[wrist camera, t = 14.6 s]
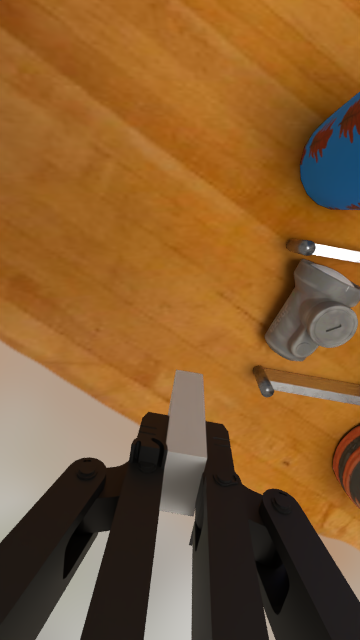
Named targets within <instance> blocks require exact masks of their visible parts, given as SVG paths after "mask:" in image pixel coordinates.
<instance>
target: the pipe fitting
mask: <svg viewBox="0 0 360 640" xmlns="http://www.w3.org/2000/svg"><path fill="white" fill-rule="evenodd" d="M294 279H295V288H294V290H293V291H292V293H291V294H290V296H289V297H288V299H287V301H286V302H285V304H284V305H283V307H282V308H281V310H280V312H279V313H278V315H277V316H276V318H275V319H274V321H273V322H272V324H271V326H270V327H269V329H268V331H267V332H266V334H265V339H266V342H267V344H268V345H269V347H270V348H271V349H272V350H273V351H274V352H276V353H277V354H279V355H280V356H282V357H284V358H286V359H288V360H291V361H303V360H305V358H306V357H307V356H309V355H310V354H312V353H313V352H314V351H315V350H316V349H317V347H318V346H322V347H327V348H332V347H337V346H340V345H342V344H344V343H346V342H347V341H348V340H349V339H351V337H352V336H353V335H354V333H355V332H356V329H357V326H358V320H357V316H356V314H355V313H354V311H353V310H352V309H350V308H351V307H354V306H356V305H357V303H358V302H359V301H360V287H359V286H358V285H356V284H354V283H353V282H351V281H349V280H348V279H347V278H346V277H344V276H343V275H342V274H340V273H339V272H337V271H335V270H333V269H331V268H328V267H326V266H323V265H318V264H315V263H313V262H311V261H309V260H306V259H301V261H300V263H299V264H298V266H297V268H296V269H295V271H294Z"/></svg>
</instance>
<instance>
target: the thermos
mask: <svg viewBox="0 0 360 640" xmlns="http://www.w3.org/2000/svg"><path fill="white" fill-rule="evenodd" d="M300 172H301V181H302V184H303V186H304V188H305V190H306V193H307V194H308V195H309V196H310V197H311V198H312V199H313V200H314V201H315V202H316V203H317V204H318V205H321V206H324V207H326V208H329V209H336V210H360V92H359V93H358V94H356V95H355V96H354V97H353V98H351V99H350V100H349V101H348V102H347V103H345V104H344V105H343V106H342V107H341V108H339V109H338V110H337V111H336V112H335V113H334V114H332V115H331V116H330V117H329V118H328V119H327V120H325V121H324V122H323V123H322V124H321V125H320V126H319V127H318V129H317V130H316V131H315V132H314V133H313V134H312V136H311V138H310V139H309V141H308V142H307V144H306V146H305V147H304V151H303V154H302V158H301V162H300Z"/></svg>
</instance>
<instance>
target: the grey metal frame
mask: <svg viewBox="0 0 360 640" xmlns="http://www.w3.org/2000/svg"><path fill="white" fill-rule="evenodd" d="M286 248H287V249H288V250H289V251H291V252H295V253H299V254H303V255H306V256H309V255H312V254H314V255H319V256H325V257H330V258H336V259H341V260H347V261H352V262H358V263H360V252H358V251H352V250H346V249H341V248H335V247H330V246H324V245H319V244H315V243H314V242H312V241H308V240H300V239H290V240H289V241H288V242H287V244H286ZM253 373H254V376H255V378H256V381H257V383H258V386H259V388H260V391H261V393H262V395H263V396H264V397H270V396H272V395H273V393H274V390H277V391H283V392H288V393H294V394H300V395H305V396H311V397H316V398H322V399H328V400H333V401H339V402H344V403H350V404H356V405H360V385H357V384H351V383H346V382H340V381H335V380H329V379H324V378H318V377H312V376H307V375H301V374H296V373H290V372H284V371H279V370H273V369H268V368H263V367H262V366H256V367H254V369H253Z"/></svg>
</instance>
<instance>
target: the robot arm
mask: <svg viewBox="0 0 360 640" xmlns="http://www.w3.org/2000/svg"><path fill="white" fill-rule="evenodd" d="M159 511H165V512H171V513H177V514H183V515H188V516H193V515H194V511H195V522H194V526H193V531H192V535H191V539H190V543H189V545H191V546H192V544H193V554H192V558H193V559H192V640H269V637H268V631H267V626H266V620H265V614H264V609H265V612H266V615H267V618H268V620H269V623H270V626H271V628H272V631H273V634H274V637H275V639H276V640H360V602H359V600H358V599H357V597H356V595H355V594H354V592H353V591H352V589H351V588H350V586H349V584H348V583H347V581H346V579H345V578H344V576H343V575H342V573H341V571H340V570H339V568H338V567H337V565H336V563H335V562H334V560H333V559H332V557H331V555H330V554H329V552H328V550H327V549H326V547H325V546H324V544H323V542H322V541H321V539H320V537H319V536H318V534H317V533H316V531H315V529H314V528H313V526H312V525H311V523H310V521H309V520H308V518H307V517H306V515H305V513H304V512H303V510H302V508H301V507H300V505H299V504H298V502H297V501H296V500H295V499H294V498H293V497H292V496H291V495H289V494H288V493H286V492H284V491H282V490H279V489H269V490H267V491H265V492H264V493H263V495H261V494H259V493H257V492H254V491H252V490H250V489H248V488H247V487H245V486H244V485H243V484H242V483H241V480H240V478H239V476H238V475H237V474H236V473H235V471H234V465H233V459H232V452H231V448H230V441H229V434H228V431H227V429H226V428H225V427H224V425H223V424H219V423H213V422H207V421H205V406H204V387H203V374H198V373H192V372H187V371H181V370H176V374H175V379H174V385H173V390H172V395H171V401H170V406H169V412H168V415H163V414H157V413H152V412H148V413H147V414H146V415H145V416H144V417H143V418H142V422H141V425H140V429H139V433H138V436H137V438H136V439H134V441H133V443H132V445H131V452H130V458H129V461H128V462H126V463H125V464H123V465H121V466H117V467H110V468H106V466H105V465H104V463H103V462H101V461H100V460H98V459H95V458H82V459H79V460H76V461H75V462H73V463H72V464H71V465H70V466H69V467H68V468H67V469H66V470H65V472H64V473H63V474H62V475H61V476H60V477H59V478H58V479H57V480H56V482H55V483H54V484H53V485H52V486H51V487H50V488H49V489H48V490H47V492H46V493H45V494H44V495H43V496H42V497H41V498H40V499H39V501H37V503H36V504H35V505H34V506H33V507H32V508H31V509H30V510H29V511H28V513H27V514H26V515H25V516H24V517H23V518H22V520H20V522H19V523H18V524H17V525H16V526H15V527H14V528H13V530H11V532H10V533H9V534H8V535H7V536H6V537H5V538H4V539H3V540H2V542H1V543H0V640H35V639H36V638H37V636H38V634H39V633H40V631H41V629H42V628H43V626H44V624H45V623H46V621H47V619H48V617H49V616H50V614H51V612H52V611H53V609H54V607H55V606H56V604H57V602H58V601H59V599H60V597H61V596H62V594H63V592H64V591H65V589H66V587H67V585H68V584H69V582H70V580H71V579H72V577H73V575H74V574H75V572H76V570H77V568H78V567H79V565H80V564H81V562H82V560H83V559H84V557H85V555H86V554H87V552H88V550H89V549H90V547H91V545H92V543H93V542H94V540H95V538H96V537H97V535H98V532H102V531H109V530H110V533H109V537H108V541H107V544H106V548H105V552H104V555H103V558H102V562H101V566H100V570H99V573H98V577H97V580H96V584H95V588H94V592H93V595H92V599H91V602H90V606H89V609H88V613H87V617H86V620H85V624H84V628H83V631H82V635H81V639H80V640H144V632H145V623H146V615H147V607H148V599H149V590H150V582H151V574H152V566H153V558H154V550H155V542H156V533H157V524H158V516H159ZM263 607H264V608H263Z"/></svg>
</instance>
